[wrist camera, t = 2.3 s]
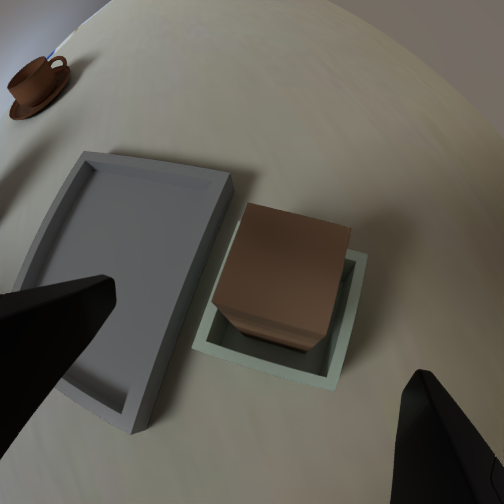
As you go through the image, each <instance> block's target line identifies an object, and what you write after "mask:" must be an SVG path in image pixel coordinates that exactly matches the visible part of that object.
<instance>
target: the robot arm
mask: <svg viewBox="0 0 504 504" xmlns="http://www.w3.org/2000/svg"><path fill="white" fill-rule="evenodd" d="M116 303H117V297H116V285H115V280H114V279H113V278H112V277H109V276H107V275H104V274H101V275H96V276H91V277H86V278H81V279H76V280H71V281H66V282H61V283H56V284H51V285H46V286H41V287H36V288H31V289H26V290H21V291H16V292H11V293H6V294H4V295H3V294H1V295H0V460H1V458H2V457H3V455H4V454H5V452H6V451H7V450H8V448H9V447H10V445H11V444H12V443H13V441H14V440H15V438H16V437H17V436H18V434H19V432H20V431H21V430H22V428H23V427H24V426H25V424H26V423H27V422H28V420H29V419H30V418H31V416H32V415H33V414H34V412H35V411H36V410H37V409H38V407H39V406H40V405H41V403H42V402H43V401H44V399H45V398H46V397H47V396H48V394H49V393H50V392H51V391H52V389H53V388H54V387H55V386H56V384H57V383H58V382H59V380H60V379H61V378H62V377H63V376H64V374H65V373H66V372H67V371H68V369H69V368H70V367H71V366H72V365H73V363H74V362H75V361H76V360H77V358H78V357H79V356H80V355H81V354H82V352H83V351H84V350H85V349H86V348H87V346H88V345H89V344H90V343H91V341H92V340H93V339H94V337H95V336H96V334H97V333H98V331H99V330H100V328H101V327H102V326H103V324H104V323H105V321H106V320H107V318H108V317H109V315H110V314H111V313H112V311H113V310H114V308H115V306H116ZM390 504H504V467H503V465H502V464H501V463H500V461H499V460H498V458H497V457H495V454H494V453H493V451H492V450H491V449H490V447H489V446H488V444H487V443H486V442H485V440H484V439H483V438H482V436H481V435H480V433H479V432H478V431H477V429H476V428H475V427H474V425H473V424H472V423H471V421H470V420H469V419H468V418H467V416H466V415H465V414H464V412H463V411H462V410H461V408H460V407H459V406H458V405H457V403H456V402H455V401H454V399H453V398H452V397H451V396H450V394H449V393H448V392H447V391H446V389H445V388H444V387H443V386H442V384H441V383H440V382H439V381H438V379H437V378H436V377H435V376H434V374H433V373H432V372H431V371H428V370H422V369H418V370H416V371H415V373H414V374H413V376H412V377H411V379H410V380H409V382H408V384H407V385H406V387H405V388H404V390H403V392H402V396H401V404H400V413H399V420H398V427H397V434H396V441H395V454H394V469H393V481H392V491H391V499H390Z"/></svg>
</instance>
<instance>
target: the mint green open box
mask: <svg viewBox="0 0 504 504" xmlns="http://www.w3.org/2000/svg"><path fill="white" fill-rule="evenodd" d="M240 222H241V221H238V223H237V226H236V228H235V231H234V234H233V236H232V239H231V241H230V244H229V247H228V249H227V252H226V255H225V257H224V260H223V263H222V265H221V268H220V271H219V274H218V276H217V279H216V282H215V284H214V287H213V290H212V292H211V295H210V298H209V301H208V303H207V306H206V309H205V312H204V314H203V317H202V320H201V323H200V325H199V328H198V331H197V334H196V337H195V339H194V342H193V345H192V349H195V350H198V351H201V352H203V353H206V354H209V355H212V356H215V357H217V358H220V359H223V360H226V361H229V362H232V363H235V364H238V365H241V366H244V367H247V368H251V369H254V370H257V371H260V372H263V373H267V374H270V375H273V376H277V377H280V378H284V379H287V380H291V381H295V382H298V383H302V384H306V385H310V386H314V387H318V388H322V389H326V390H330V391H334V392H335V389H336V386H337V382H338V379H339V376H340V372H341V369H342V365H343V362H344V358H345V354H346V351H347V347H348V343H349V339H350V336H351V332H352V328H353V324H354V319H355V315H356V311H357V307H358V302H359V298H360V293H361V288H362V284H363V279H364V274H365V268H366V263H367V258H368V254H366V253H362V252H358V251H355V250H351V249H347V252H346V256H345V261H344V265H343V270H342V274H341V278H340V283H339V287H338V291H337V295H336V299H335V303H334V307H333V311H332V315H331V319H330V322H329V326H328V330H327V334H326V336H324V337H323V338H322V339H321V340H320V341H319V342H318V343H317V344H316V345H315V346H314V347H312V348H311V349H310V350H309V351H308V352H307V353H306V354H303V353H300V352H296V351H292V350H289V349H285V348H282V347H278V346H275V345H271V344H268V343H265V342H261V341H258V340H255V339H252V338H248V337H245V336H243V335H242V334H241V333H240V332H239V330H238V329H237V328H236V327H235V326H234V325H233V324H232V323H231V322H230V321H229V320H228V319H227V318H226V317H225V316H224V315H223V314H222V313H221V312H220V310H219V309H218V308H217V307H216V306H215V305H214V304H213V303H212V302H211V300H212V298H213V295H214V292H215V289H216V287H217V284H218V281H219V278H220V276H221V273H222V270H223V268H224V265H225V262H226V259H227V257H228V254H229V251H230V249H231V246H232V243H233V241H234V238H235V235H236V233H237V230H238V227H239V225H240Z"/></svg>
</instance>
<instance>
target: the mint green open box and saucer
mask: <svg viewBox="0 0 504 504" xmlns="http://www.w3.org/2000/svg"><path fill="white" fill-rule="evenodd" d="M56 60H61V61H62V62H63V65H62V66H58V67H55V68H53V69H52V68H51V65H52V63H53V62H54V61H56ZM66 65H67V61H66V59H65V58H64V57H63V56H56V57H54V58H52V59H51V60H50V61H49V62H48V61H47V59H46V57H44V56H43V57H39V58H37V59H35V60H33V61H31V62H30V63H29V64H27V65H26V66H25V67H23V69H21V70H20V71H19V72H18V73H17V74H16V75H15V76H14V77H13V78H12V80H11V81H10V83H9V84H8V87H7V88H8V90H9V91H10V93H11V94H12V95H13V97H14V98H15V99H16V100H15V101H14V103H13V105H12V107H11V109H10V113H9V115H10V118H11V119H13V120H22V119H26V118H28V117H30V116H32V115H34V114H35V113H37V112H38V111H40V110H41V109H43V108H44V107H45V106H46V105H48V104H49V103H50V102H51V101H52V100H53V99H54V98H55V97H56V96H57V95H58V94H59V93H60V92H61V90H62V89H63V88H64V86H65V85H66V83H67V81H68V79H69V76H70V68H69V67H68V66H66Z"/></svg>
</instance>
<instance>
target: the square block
mask: <svg viewBox="0 0 504 504" xmlns="http://www.w3.org/2000/svg"><path fill="white" fill-rule="evenodd" d="M350 232H351V228H349V227H345V226H341V225H337V224H333V223H330V222H326V221H322V220H318V219H314V218H310V217H306V216H302V215H298V214H294V213H290V212H286V211H282V210H278V209H273V208H269V207H265V206H261V205H256V204H252V203H248V204H247V206H246V209H245V212H244V214H243V217H242V220H241V222H240V225H239V227H238V230H237V233H236V235H235V238H234V241H233V243H232V246H231V249H230V251H229V254H228V257H227V259H226V262H225V265H224V268H223V270H222V273H221V276H220V278H219V281H218V284H217V287H216V289H215V292H214V295H213V298H212V300H211V302H212V303H213V304H214V305H215V306H216V307H217V308H218V309H219V310H220V312H221V313H222V314H223V315H224V316H225V317H226V318H227V319H228V320H229V321H230V322H231V323H232V324H233V325H234V326H235V327H236V328H237V329H238V330H239V332H240V333H241V334H242V335H243V336H245V337H248V338H252V339H255V340H258V341H261V342H265V343H268V344H271V345H275V346H278V347H282V348H285V349H289V350H292V351H296V352H300V353H303V354H306V353H307V352H308V351H309V350H310V349H311V348H312V347H314V346H315V345H316V344H317V343H318V342H319V341H320V340H321V339H322V338H323V337H324V336H326V334H327V330H328V326H329V322H330V319H331V315H332V311H333V307H334V303H335V299H336V295H337V291H338V287H339V283H340V278H341V274H342V270H343V265H344V261H345V256H346V252H347V247H348V242H349V237H350Z"/></svg>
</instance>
